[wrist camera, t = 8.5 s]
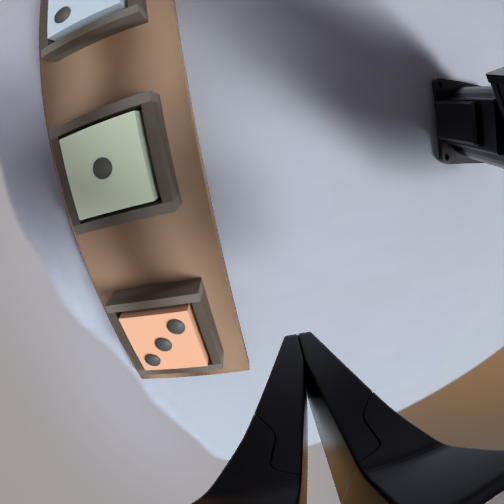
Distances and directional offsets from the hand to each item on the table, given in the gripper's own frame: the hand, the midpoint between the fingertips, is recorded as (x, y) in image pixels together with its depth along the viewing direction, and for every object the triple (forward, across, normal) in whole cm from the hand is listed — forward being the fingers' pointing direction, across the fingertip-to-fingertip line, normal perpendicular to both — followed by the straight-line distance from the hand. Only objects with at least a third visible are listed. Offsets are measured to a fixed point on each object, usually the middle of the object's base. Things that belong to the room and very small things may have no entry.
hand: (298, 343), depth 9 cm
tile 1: (+9, +8, -6) cm, 14 cm away
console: (+11, +8, -6) cm, 15 cm away
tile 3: (+9, +9, +6) cm, 14 cm away
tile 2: (+10, +8, -18) cm, 22 cm away
